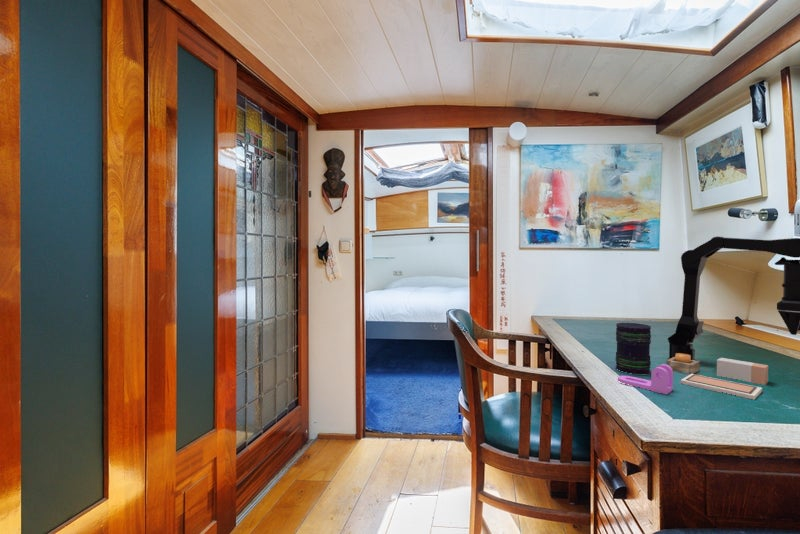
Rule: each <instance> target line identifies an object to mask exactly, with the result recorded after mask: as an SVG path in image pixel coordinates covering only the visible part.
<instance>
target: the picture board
mask: <svg viewBox="0 0 800 534" xmlns="http://www.w3.org/2000/svg"><path fill="white" fill-rule="evenodd" d="M680 384H681V385H686V386H690V387H695V388H700V389H703V390H709V391H713V392H717V393H722V392H723V393H722V394H726V393H727V394H728V395H731V394H732V396H735V395H736V396H735V397H740V398H744V399H750V400H754V401H755V400H756V398H757V397H759V395H761V393H762V392H763V387H761V386H755V385H750V384H746V383H740V382H736V381H730V380H726V379H720V378H715V377H709V376H705V375H701V374H696V373H694V374H688V375H687V376H685V377H683V378H682V379H680ZM727 394H726V395H727Z"/></svg>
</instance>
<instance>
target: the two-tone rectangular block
mask: <svg viewBox="0 0 800 534" xmlns="http://www.w3.org/2000/svg"><path fill="white" fill-rule="evenodd" d="M716 376H717V377H721V376H722V378H726V377H727V378H728V379H731V378H732V380H736V379H738V381H741V380H742V382H748V383H753V384H758V385H763V386H767V384H768V383H769V365H767V364H763V363H756V362H750V361H745V360H744V361H743V360H738V359H731V358H725V357H720V358H718V359H716ZM727 378H726V379H727Z"/></svg>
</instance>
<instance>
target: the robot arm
mask: <svg viewBox="0 0 800 534" xmlns="http://www.w3.org/2000/svg"><path fill="white" fill-rule="evenodd" d="M722 249H729V250H740V251H741V250H742V251H743V250H744V251H753V252H754V251H756V252H757V251H758V252H767V253H770V254H771V253H772V254H775V255H780V256H783V257H781V258H780V259H779V260H777V261H776V262H775V263H774V265H776V266H783V280H782V281H783V283H782V284H781V287H782V288H783V289H782V295H783V296H782V297H781V300H780V301H779V302H776V310H777V313H779V316H780V317H781V318H782V321H783V322H784V324H785V325H786V328H787V329H788V331H789V333H790V335H793V336H796V335H797V334H798V332H800V259H796V258H800V237H795V238H793V237H791V238H778V239H758V238H757V239H754V238H753V239H752V238H740V237H739V238H738V237H737V238H736V237H724V236H718V235H717V236H714V237H712V238H711V239H709V240H708V241H706V242H704V243H702V244H701V245H699V246H697V247H695V248H694V249H689V250H686V251H684V252H683V253H682V254H681V257H680V262H681V267H682V270H683V274H684V281H683V283H684V284H683V293H682V294H683V295H682V296H683V297H682V306H681V307H682V308H681V316H680V318H679V320H678V322H677V325H676V329H675V333H673V334H671V335H670V336H669V337H667V342H668V343H669V344H668V345H669V348H668V349H669V351H668V355H669V356H668V358H667V359H666V361H667V360H669V359H671V358H673V357H675V355H676V353H682V354H688V355H690V356H691V360H694V361H696V360H695V359H696V356H695V355H696V349H695V348H694V341H695V340H696V339H698V338H700V336H701V334H703V333H704V330H703V326H704V320H703V321H702V320H701V321H700V320H699V318H698V308H699V295H700V294H699V293H700V283H701V281H700V280H701V275H702V274H703V271H704V269H705V266H706V263H707V259H708V258H710V257H712V256H713V255H714V254H716V253H718V252H719V251H720V250H722ZM784 256H785V257H784ZM786 257H789V258H795V259H787V258H786Z"/></svg>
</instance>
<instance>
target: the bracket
mask: <svg viewBox="0 0 800 534" xmlns="http://www.w3.org/2000/svg"><path fill="white" fill-rule="evenodd" d="M650 374H651V375H650V380H649V379H644V378H642V377H641V378H640V377H634V376H631V375H630V376H629V375H619V376H617V382H618V381H620V382H622V383H625V384H629V385H632V386H636V387H635V388H637V387H640V388H639V389H641V388H643V389H642V390H645V389H647V390H646V391H649V390H651V392H653V393H654V392H655V393H659V394H662V393H663V395H668V394H669V393H671V392H672V391H673V390H674V371H673V370H672V368H671V367H670V366H668V365H667V363H666V364H659V365H658V366H656V367H655V368H653V369H651V371H650ZM632 386H631V387H632Z"/></svg>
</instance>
